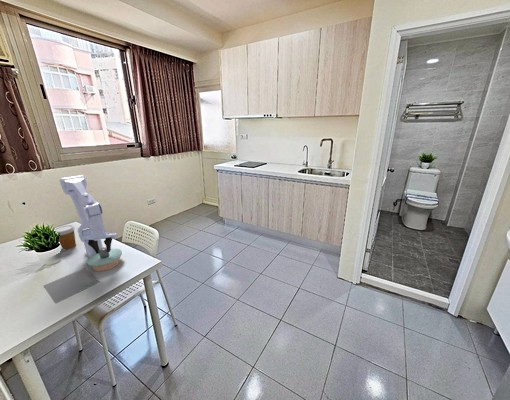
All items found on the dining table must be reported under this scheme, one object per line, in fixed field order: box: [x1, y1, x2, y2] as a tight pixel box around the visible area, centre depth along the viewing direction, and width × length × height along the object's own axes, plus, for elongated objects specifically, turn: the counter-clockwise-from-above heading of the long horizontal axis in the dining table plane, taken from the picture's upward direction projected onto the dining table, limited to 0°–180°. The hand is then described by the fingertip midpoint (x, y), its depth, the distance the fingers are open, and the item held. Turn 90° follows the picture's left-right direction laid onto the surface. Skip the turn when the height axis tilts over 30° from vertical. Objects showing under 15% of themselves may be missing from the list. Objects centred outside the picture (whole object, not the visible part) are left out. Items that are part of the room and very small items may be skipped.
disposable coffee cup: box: [54, 224, 77, 250], centre depth 131 cm, size 10×10×12 cm
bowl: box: [91, 256, 121, 272], centre depth 115 cm, size 12×12×4 cm
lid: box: [86, 246, 123, 267], centre depth 113 cm, size 15×15×5 cm
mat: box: [43, 267, 101, 304], centre depth 101 cm, size 18×16×1 cm
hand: (103, 251), depth 113 cm, fingers open, 4 cm apart
